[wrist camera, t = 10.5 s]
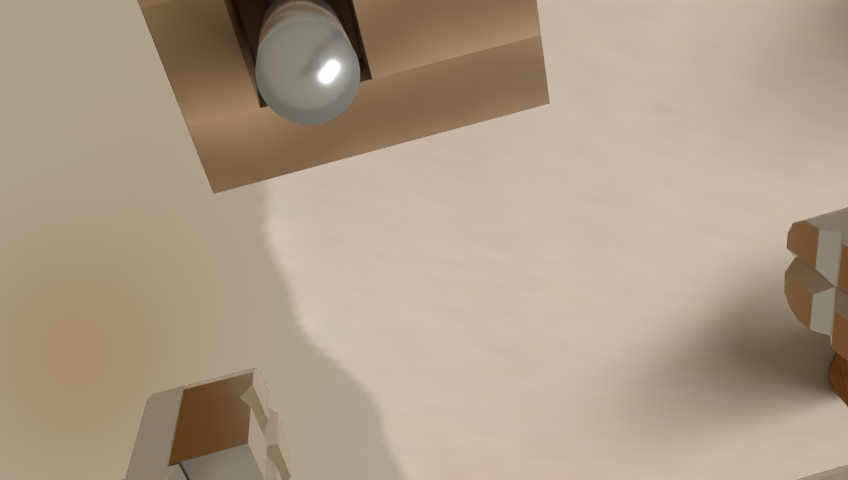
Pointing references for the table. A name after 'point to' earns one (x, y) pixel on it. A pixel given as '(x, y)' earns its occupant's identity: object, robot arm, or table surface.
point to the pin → (305, 61)
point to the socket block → (378, 89)
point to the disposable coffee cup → (839, 377)
